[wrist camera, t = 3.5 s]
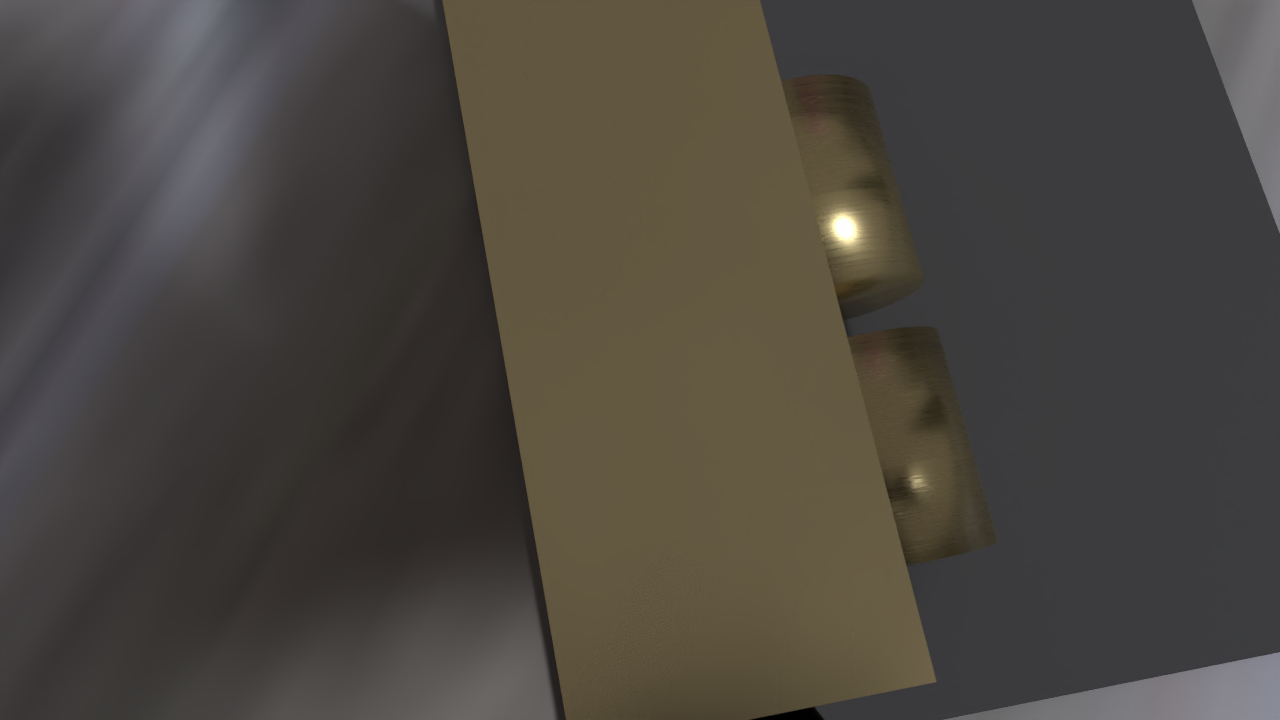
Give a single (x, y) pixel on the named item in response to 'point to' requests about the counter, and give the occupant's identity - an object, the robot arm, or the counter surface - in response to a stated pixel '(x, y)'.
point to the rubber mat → (1077, 334)
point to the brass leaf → (708, 359)
